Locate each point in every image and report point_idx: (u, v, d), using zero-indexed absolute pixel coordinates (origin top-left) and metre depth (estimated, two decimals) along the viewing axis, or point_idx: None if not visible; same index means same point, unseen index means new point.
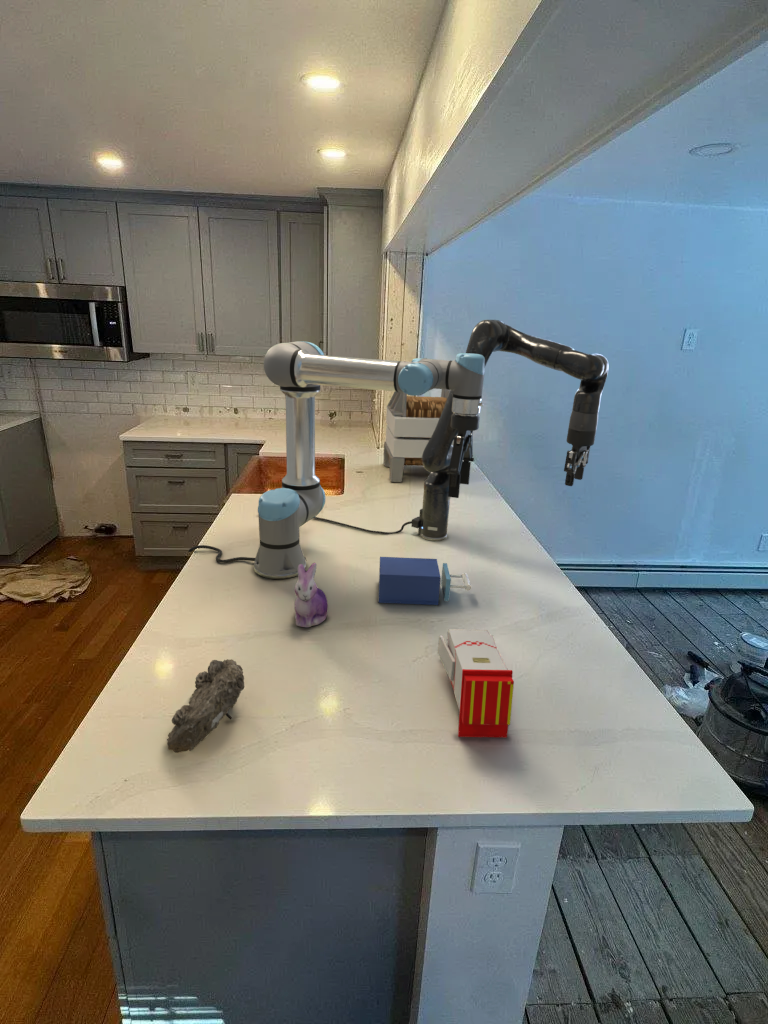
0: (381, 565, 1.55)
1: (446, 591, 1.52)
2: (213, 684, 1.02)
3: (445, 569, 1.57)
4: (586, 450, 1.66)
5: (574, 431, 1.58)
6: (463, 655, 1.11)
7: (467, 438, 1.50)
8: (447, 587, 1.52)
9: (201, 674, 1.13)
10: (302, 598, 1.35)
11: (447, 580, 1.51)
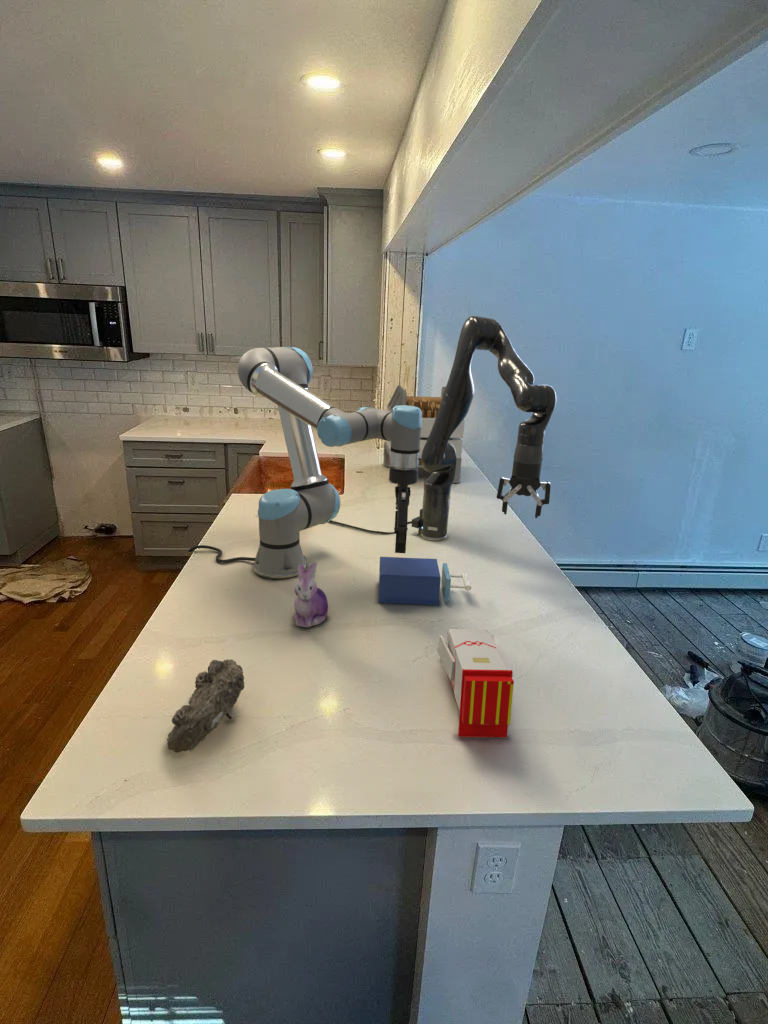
0: (381, 565, 1.55)
1: (446, 591, 1.52)
2: (213, 684, 1.02)
3: (445, 569, 1.57)
4: (544, 488, 1.55)
5: None
6: (463, 655, 1.11)
7: (408, 491, 1.47)
8: (447, 587, 1.52)
9: (201, 674, 1.13)
10: (302, 598, 1.35)
11: (447, 580, 1.51)
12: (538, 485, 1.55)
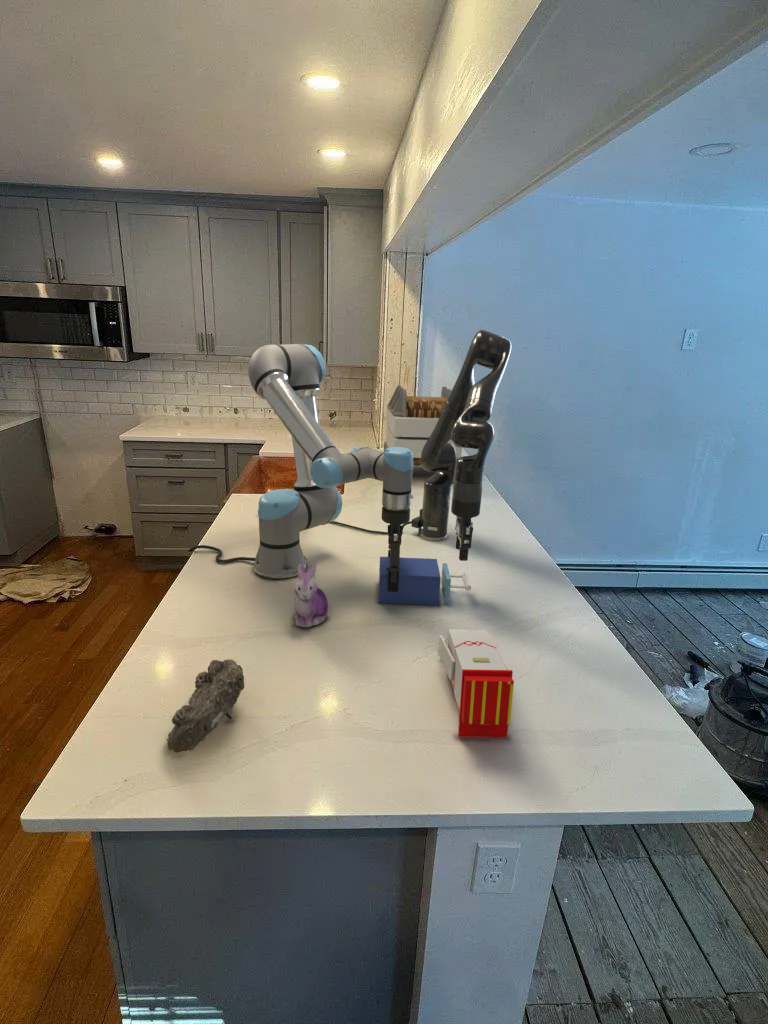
0: (381, 565, 1.55)
1: (446, 591, 1.52)
2: (213, 684, 1.02)
3: (445, 569, 1.57)
4: None
5: None
6: (463, 655, 1.11)
7: (400, 531, 1.50)
8: (447, 587, 1.52)
9: (201, 674, 1.13)
10: (302, 598, 1.35)
11: (447, 580, 1.51)
12: (462, 525, 1.47)
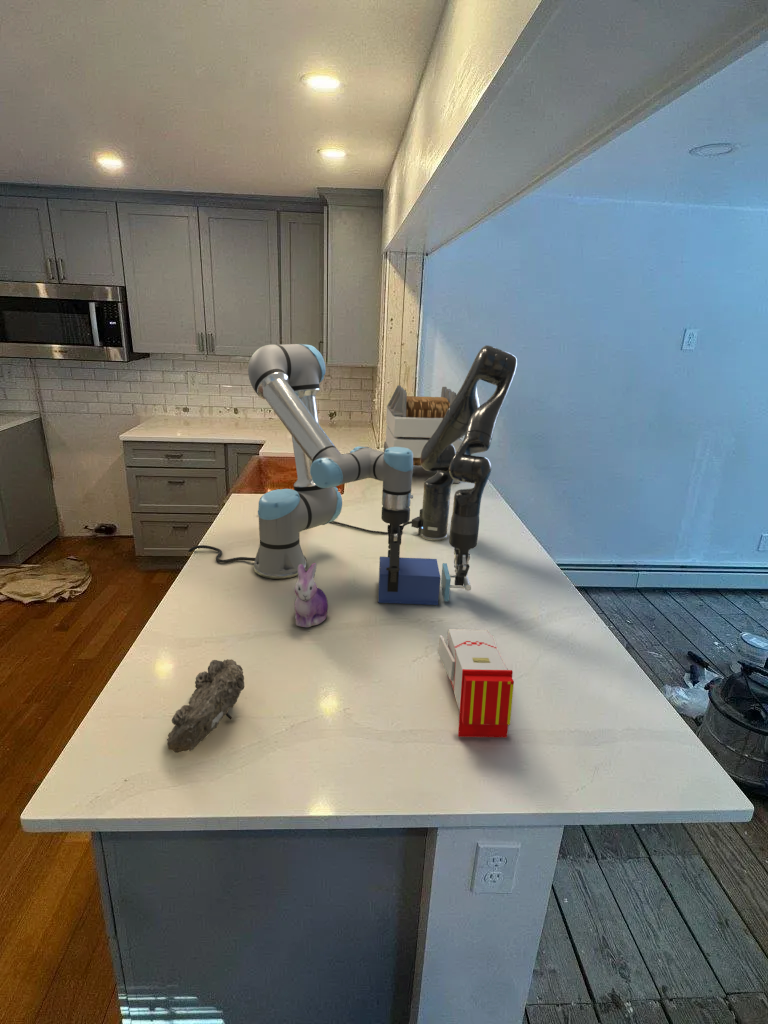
0: (381, 565, 1.55)
1: (446, 591, 1.52)
2: (213, 684, 1.02)
3: (445, 569, 1.57)
4: None
5: None
6: (463, 655, 1.11)
7: (400, 531, 1.50)
8: (447, 587, 1.52)
9: (201, 674, 1.13)
10: (302, 598, 1.35)
11: (447, 580, 1.51)
12: (460, 556, 1.50)
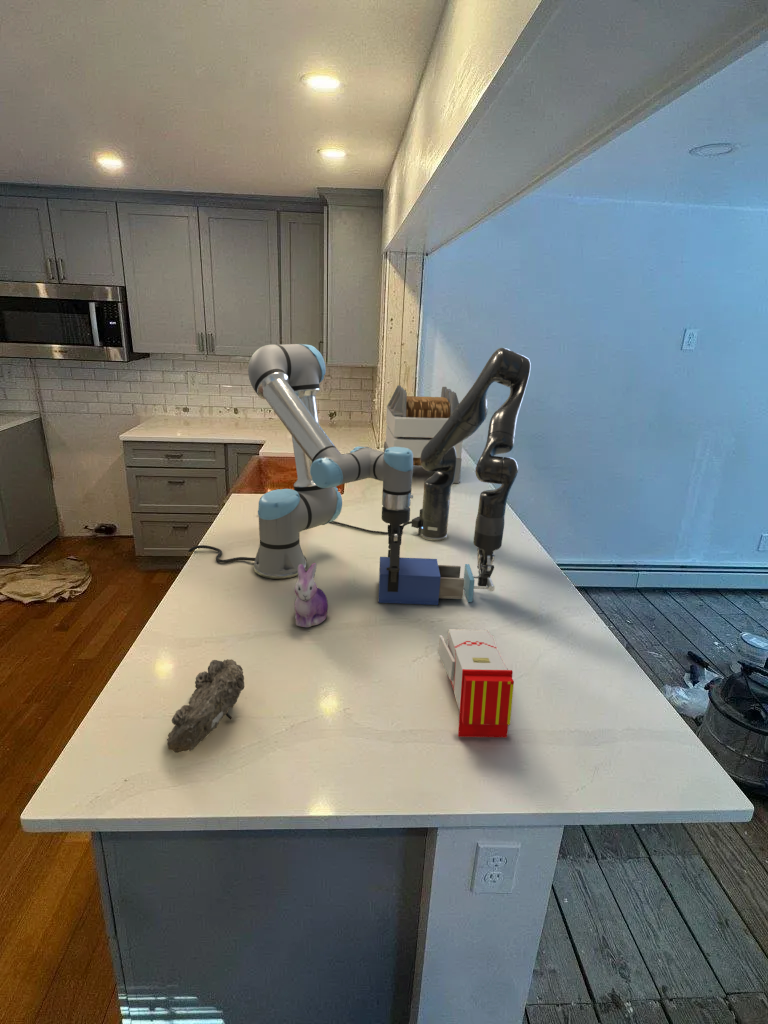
0: (381, 565, 1.55)
1: (470, 592, 1.52)
2: (213, 684, 1.02)
3: (468, 570, 1.57)
4: (485, 565, 1.50)
5: None
6: (463, 655, 1.11)
7: (400, 531, 1.50)
8: (471, 588, 1.52)
9: (201, 674, 1.13)
10: (302, 598, 1.35)
11: (471, 581, 1.51)
12: (484, 557, 1.50)
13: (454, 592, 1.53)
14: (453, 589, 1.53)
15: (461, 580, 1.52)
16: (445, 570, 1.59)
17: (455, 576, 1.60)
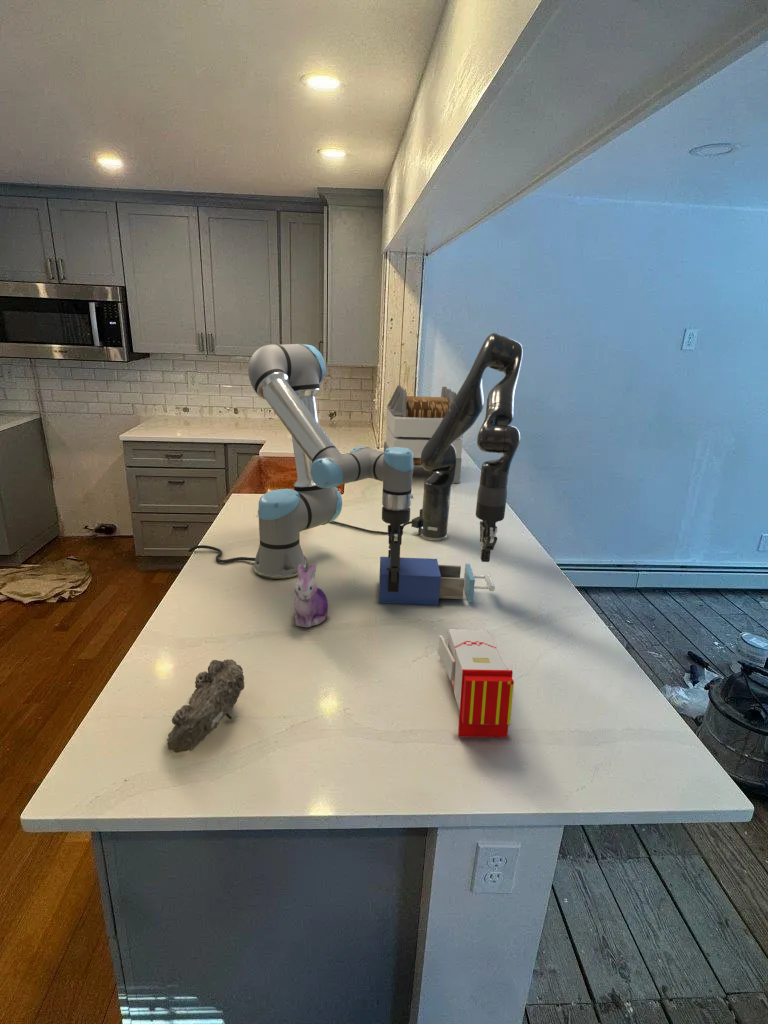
0: (381, 565, 1.55)
1: (470, 592, 1.52)
2: (213, 684, 1.02)
3: (468, 570, 1.57)
4: None
5: None
6: (463, 655, 1.11)
7: (400, 531, 1.50)
8: (471, 588, 1.52)
9: (201, 674, 1.13)
10: (302, 598, 1.35)
11: (471, 581, 1.51)
12: (487, 529, 1.48)
13: (454, 592, 1.53)
14: (453, 589, 1.53)
15: (461, 580, 1.52)
16: (446, 570, 1.59)
17: (456, 575, 1.60)
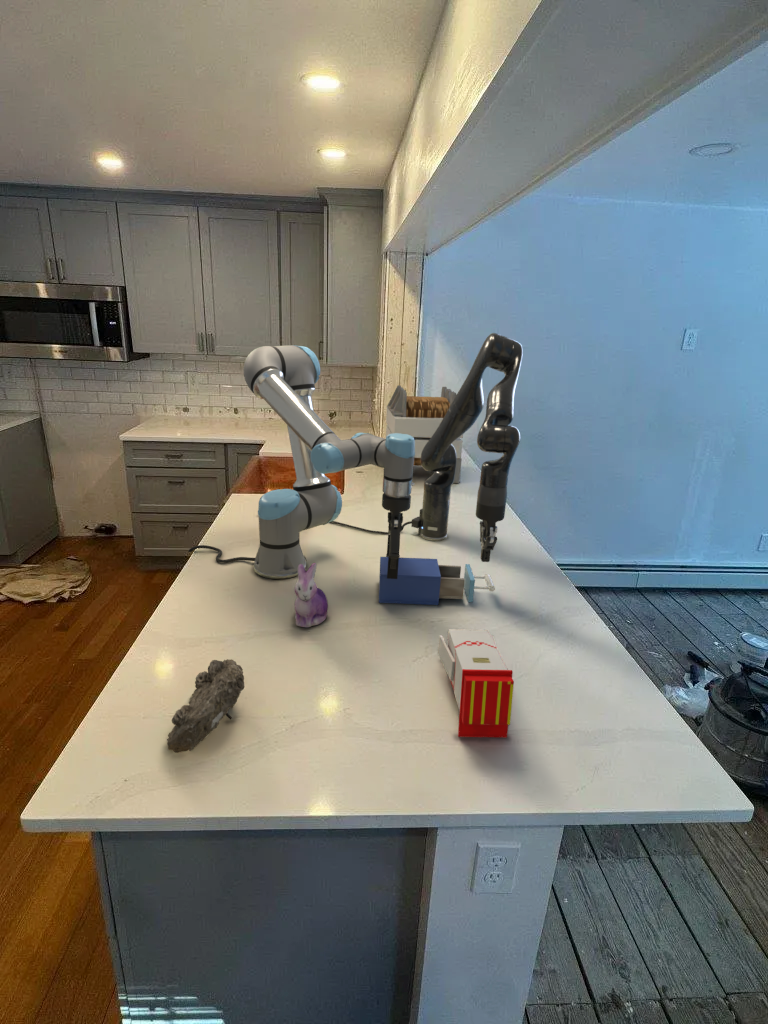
0: (381, 565, 1.55)
1: (470, 592, 1.52)
2: (213, 684, 1.02)
3: (468, 570, 1.57)
4: None
5: None
6: (463, 655, 1.11)
7: (400, 518, 1.49)
8: (471, 588, 1.52)
9: (201, 674, 1.13)
10: (302, 598, 1.35)
11: (471, 581, 1.51)
12: (487, 529, 1.48)
13: (454, 592, 1.53)
14: (453, 589, 1.53)
15: (461, 580, 1.52)
16: (446, 570, 1.59)
17: (456, 576, 1.60)
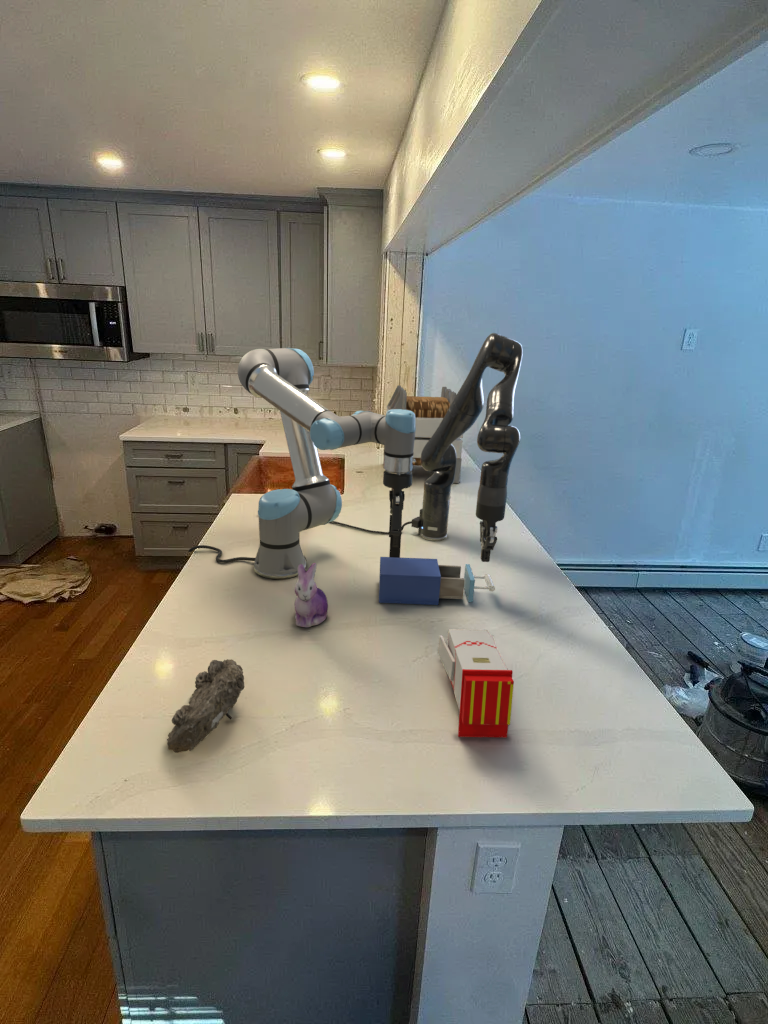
0: (381, 565, 1.55)
1: (470, 592, 1.52)
2: (213, 684, 1.02)
3: (468, 570, 1.57)
4: None
5: None
6: (463, 655, 1.11)
7: (402, 495, 1.46)
8: (471, 588, 1.52)
9: (201, 674, 1.13)
10: (302, 598, 1.35)
11: (471, 581, 1.51)
12: (487, 529, 1.48)
13: (454, 592, 1.53)
14: (453, 589, 1.53)
15: (461, 580, 1.52)
16: (446, 570, 1.59)
17: (456, 576, 1.60)
